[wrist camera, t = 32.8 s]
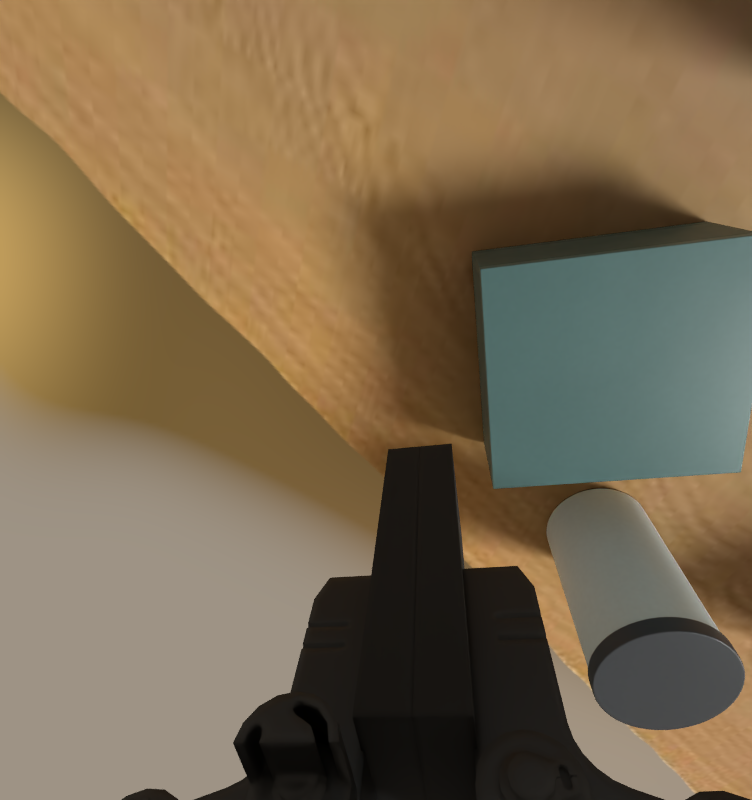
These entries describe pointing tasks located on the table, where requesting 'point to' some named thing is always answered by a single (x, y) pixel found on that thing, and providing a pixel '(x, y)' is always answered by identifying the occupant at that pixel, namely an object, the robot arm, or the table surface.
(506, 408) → the chest lid
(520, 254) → the chest
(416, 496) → the robot arm
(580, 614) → the canister
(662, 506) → the table surface
